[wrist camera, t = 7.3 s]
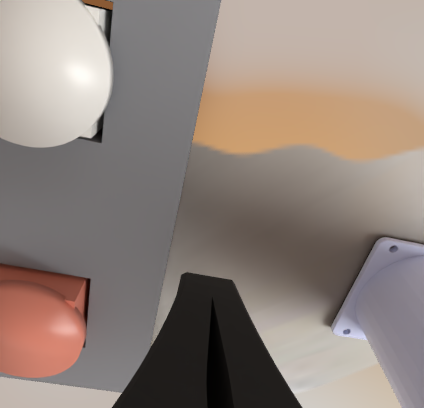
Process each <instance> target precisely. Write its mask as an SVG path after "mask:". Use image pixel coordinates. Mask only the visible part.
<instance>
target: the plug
mask: <svg viewBox="0 0 424 408" xmlns="http://www.w3.org/2000/svg"><path fill="white" fill-rule="evenodd" d="M112 13H113V10H110V9H106V8H102V7H98V6H94V5H90V4H86V3H84V2H83V1H82V0H0V138H2V139H4V140H7V141H9V142H12V143H15V144H19V145H22V146H28V147H39V148H45V147H54V146H58V145H62V144H65V143H68V142H70V141H72V140H74V139H76V138H78V137H79V136H82V137H87V138H92V137H93V136H94V135H95V134H96V133H97V132H98V131H99V130H100V129H101V128H102V127H103V123H104V111H105V109H106V107H107V105H108V102H109V100H110V96H111V93H112V87H113V73H114V71H113V61H112V56H111V51H110V38H111V25H112Z"/></svg>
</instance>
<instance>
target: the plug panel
mask: <svg viewBox="0 0 424 408" xmlns="http://www.w3.org/2000/svg"><path fill="white" fill-rule="evenodd" d="M106 1H110V2H113V13H112V25H111V38H110V51H111V56H112V61H113V71H114V73H113V87H112V93H111V96H110V100H109V102H108V105H107V107H106V109H105V111H104V123H103V127H102V128H101V129H100V130H99V131H98V132H97V133H96V134H95V135H94V136H93V137H92V138H87V137H82V136H79V137H78V138H76V139H74V140H72V141H70V142H68V143H65V144H62V145H58V146H54V147H45V148H39V147H28V146H22V145H19V144H15V143H12V142H9V141H7V140H4V139H2V138H0V264H6V265H12V266H18V267H24V268H30V269H36V270H43V271H49V272H55V273H61V274H67V275H73V276H79V277H85V278H91V283H90V295H89V307H88V319H87V327H86V328H87V335H86V339H85V342H84V345H83V347H82V350H81V352H80V355H79V357H78V359H77V360H76V362H75V363H74V364H73V365H72V366H71V367H70V368H68V369H67V370H65V371H63V372H61V373H59V374H56V375H52V376H48V377H41V378H26V377H18V376H13V375H9V374H6V373H3V372H0V377H7V378H15V379H22V380H30V381H37V382H45V383H53V384H60V385H68V386H75V387H84V388H92V389H98V390H106V391H114V392H121V393H122V392H123V391H124V390H125V388H126V387H127V385H128V384H129V382H130V381H131V379H132V377H133V376H134V374H135V373H136V371H137V370H138V368H139V367H140V365H141V363H142V362H143V360H144V358H145V357H146V355H147V353H148V351H149V349H150V344H151V339H152V334H153V329H154V325H155V320H156V315H157V310H158V305H159V300H160V295H161V290H162V286H163V281H164V276H165V271H166V266H167V261H168V256H169V252H170V247H171V242H172V237H173V232H174V227H175V222H176V217H177V213H178V208H179V203H180V198H181V193H182V188H183V183H184V179H185V174H186V169H187V164H188V159H189V154H190V149H191V144H192V140H193V135H194V130H195V125H196V120H197V115H198V110H199V105H200V100H201V96H202V91H203V85H204V81H205V76H206V71H207V67H208V62H209V57H210V52H211V47H212V42H213V37H214V32H215V28H216V23H217V18H218V13H219V8H220V3H221V0H106Z"/></svg>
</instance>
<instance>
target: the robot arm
mask: <svg viewBox="0 0 424 408" xmlns="http://www.w3.org/2000/svg"><path fill="white" fill-rule="evenodd" d="M393 245H395V246H394V247H393V248H391V249H390V247H391V246H393ZM331 329H332V332H333V333H334V334H335V335H339V336H345V337H351V338H358V339H364V340H368V342H369V344H370V346H371V348H372V350H373V352H374V354H375V356H376V358H377V360H378V362H379V364H380V365H381V367H382V369H383V371H384V373H385V375H386V377H387V379H388V381H389V383H390V385H391V387H392V389H393V391H394V393H395V395H396V397H397V399H398V401H399V403H400V405H401V407H402V408H424V245H423V244H418V243H413V242H408V241H403V240H398V239H393V238H388V237H383V238H380V239H379V240H377V242H376V243H375V245H374V247H373V249H372V250H371V252H370V254H369V256H368V258H367V260H366V262H365V264H364V266H363V267H362V269H361V271H360V273H359V275H358V277H357V279H356V281H355V282H354V284H353V286H352V288H351V290H350V292H349V294H348V296H347V297H346V299H345V301H344V303H343V305H342V307H341V309H340V311H339V313H338V314H337V316H336V318H335V320H334V322H333V324H332V326H331ZM345 329H346V330H345ZM112 408H302V406H301V405H300V403H299V402H298V400H297V399H296V397H295V396H294V394H293V393H292V391H291V389H290V388H289V386H288V384H287V383H286V381H285V380H284V378H283V376H282V375H281V373H280V371H279V370H278V368H277V366H276V365H275V363H274V361H273V359H272V358H271V356H270V354H269V352H268V350H267V349H266V347H265V345H264V343H263V341H262V339H261V338H260V336H259V334H258V332H257V330H256V328H255V326H254V324H253V322H252V320H251V318H250V316H249V314H248V312H247V310H246V308H245V306H244V304H243V301H242V299H241V297H240V295H239V293H238V290H237V288H236V286H235V284H234V282H233V281H232V280H228V279H222V278H217V277H211V276H205V275H199V274H193V273H188V272H186V273H184V274H182V275H181V279H180V283H179V287H178V291H177V295H176V298H175V301H174V303H173V305H172V308H171V310H170V312H169V314H168V316H167V318H166V320H165V322H164V324H163V326H162V328H161V330H160V332H159V334H158V336H157V338H156V340H155V341H154V343H153V345H152V346H151V348H150V350H149V351H148V353H147V355H146V357H145V358H144V360H143V362H142V363H141V365H140V367H139V368H138V370H137V371H136V373H135V374H134V376H133V377H132V379H131V381H130V382H129V384H128V385H127V387H126V388H125V390H124V391H123V392H122V394H121V395H120V397H119V398H118V400H117V401H116V403H115V404H114V405H113V407H112Z"/></svg>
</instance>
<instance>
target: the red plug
mask: <svg viewBox="0 0 424 408" xmlns="http://www.w3.org/2000/svg"><path fill="white" fill-rule="evenodd" d="M90 283H91V278H85V277H79V276H73V275H67V274H61V273H55V272H49V271H43V270H36V269H30V268H24V267H18V266H12V265H6V264H0V372H3V373H6V374H9V375H13V376H18V377H26V378H41V377H48V376H52V375H56V374H59V373H61V372H63V371H65V370H67V369H68V368H70V367H71V366H72V365H73V364H74V363H75V362H76V360H77V359H78V357H79V355H80V352H81V350H82V347H83V345H84V342H85V339H86V335H87V328H86V327H87V319H88V307H89V295H90Z"/></svg>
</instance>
